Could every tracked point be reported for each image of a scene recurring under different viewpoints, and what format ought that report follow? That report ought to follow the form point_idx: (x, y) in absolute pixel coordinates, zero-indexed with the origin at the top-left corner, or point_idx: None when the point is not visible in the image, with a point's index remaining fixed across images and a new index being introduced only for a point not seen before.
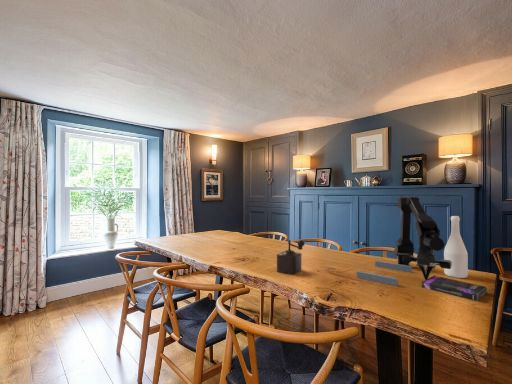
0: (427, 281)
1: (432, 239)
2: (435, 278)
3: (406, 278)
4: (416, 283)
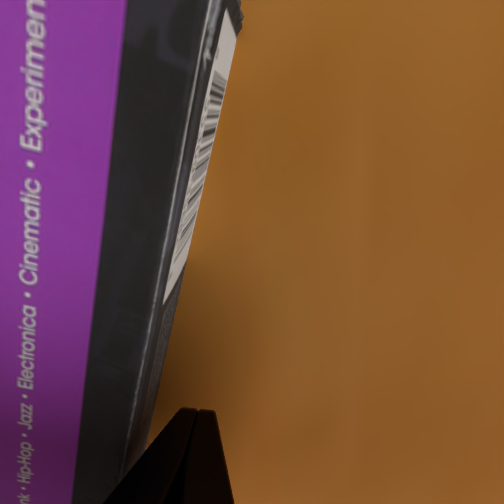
0: (71, 113)
1: None
2: (15, 458)
3: (496, 424)
4: (351, 246)
